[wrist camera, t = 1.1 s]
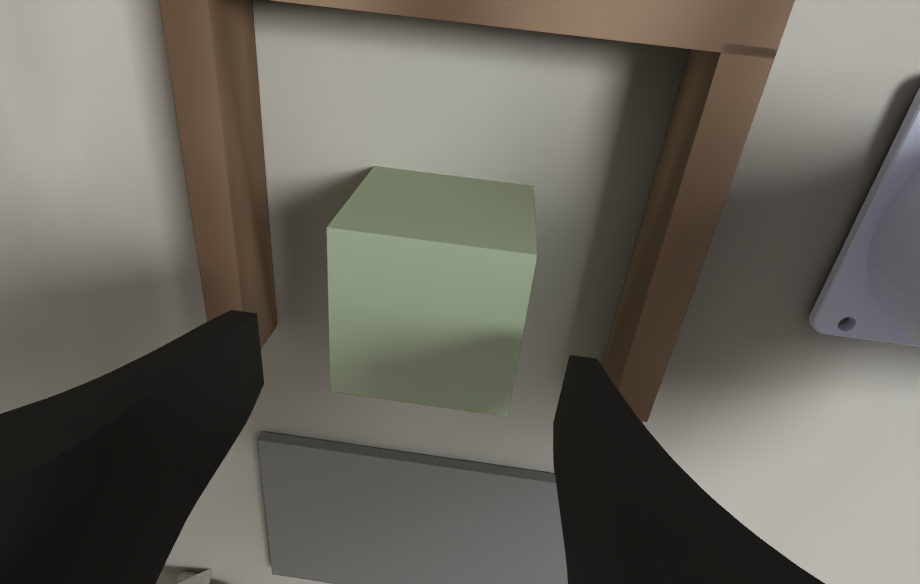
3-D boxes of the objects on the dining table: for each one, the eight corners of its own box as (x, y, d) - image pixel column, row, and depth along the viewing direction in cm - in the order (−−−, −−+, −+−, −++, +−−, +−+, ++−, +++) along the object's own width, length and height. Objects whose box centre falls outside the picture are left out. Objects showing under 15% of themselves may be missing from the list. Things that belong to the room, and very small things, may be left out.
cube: (533, 185, 17) (537, 254, 13) (511, 320, 20) (507, 416, 16) (374, 165, 18) (326, 227, 13) (371, 301, 20) (330, 391, 16)
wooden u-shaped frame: (753, -5, 14) (795, -1, 12) (633, 374, 20) (646, 422, 18) (203, -66, 15) (148, -74, 13) (245, 321, 21) (213, 361, 19)
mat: (595, 479, 23) (596, 489, 23) (555, 607, 28) (556, 617, 27) (262, 431, 24) (257, 439, 23) (276, 564, 28) (272, 574, 28)
